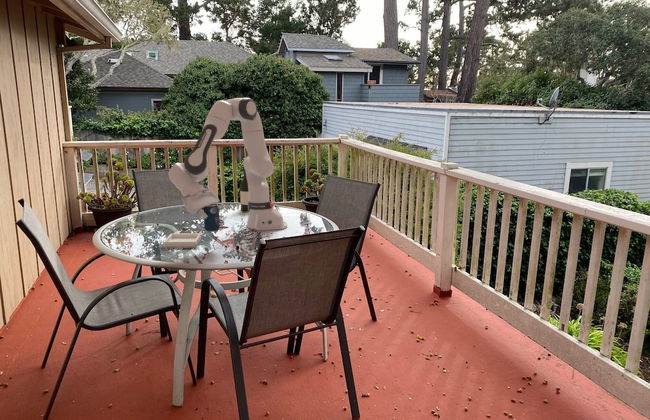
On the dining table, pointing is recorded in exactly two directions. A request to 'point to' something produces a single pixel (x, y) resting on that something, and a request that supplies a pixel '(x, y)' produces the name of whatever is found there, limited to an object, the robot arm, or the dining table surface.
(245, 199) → the wine bottle
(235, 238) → the dining table surface
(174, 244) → the tray
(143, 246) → the dining table surface
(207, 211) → the soda can
